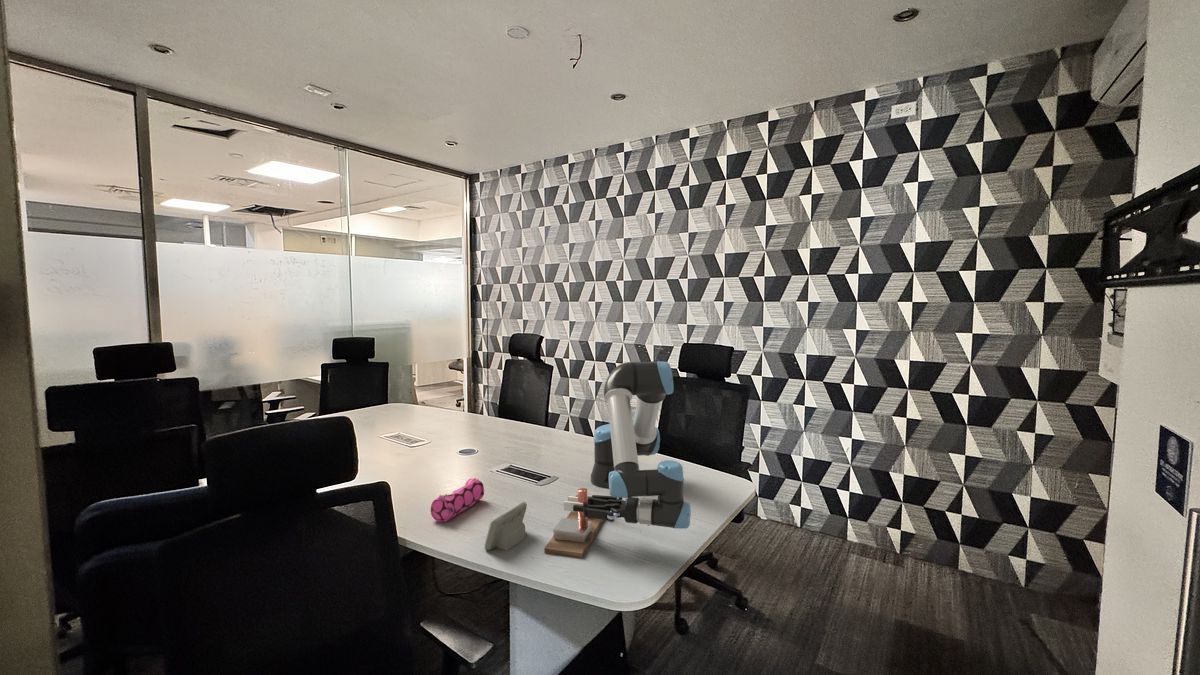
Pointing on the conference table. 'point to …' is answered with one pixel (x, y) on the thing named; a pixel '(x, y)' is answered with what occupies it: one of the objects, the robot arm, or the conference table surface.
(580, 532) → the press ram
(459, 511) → the pencil case
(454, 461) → the conference table surface
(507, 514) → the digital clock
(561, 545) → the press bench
